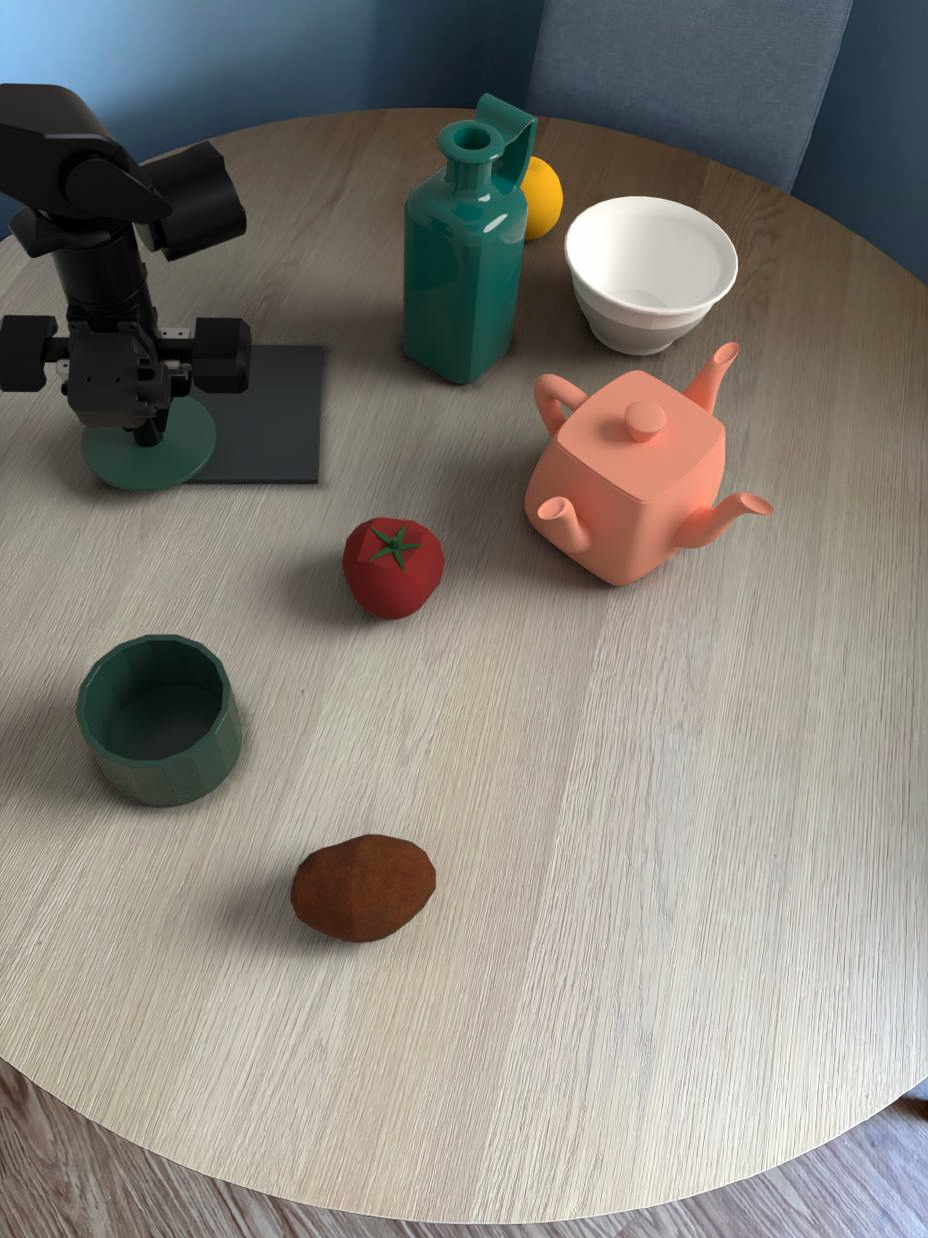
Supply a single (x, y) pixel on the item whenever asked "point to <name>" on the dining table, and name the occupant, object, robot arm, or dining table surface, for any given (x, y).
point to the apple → (541, 198)
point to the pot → (633, 471)
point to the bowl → (647, 270)
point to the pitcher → (467, 243)
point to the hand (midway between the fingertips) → (146, 428)
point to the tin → (160, 719)
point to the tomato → (392, 566)
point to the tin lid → (152, 449)
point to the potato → (362, 887)
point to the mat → (267, 421)
